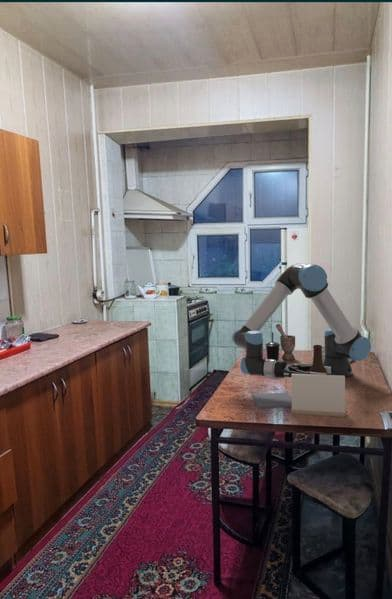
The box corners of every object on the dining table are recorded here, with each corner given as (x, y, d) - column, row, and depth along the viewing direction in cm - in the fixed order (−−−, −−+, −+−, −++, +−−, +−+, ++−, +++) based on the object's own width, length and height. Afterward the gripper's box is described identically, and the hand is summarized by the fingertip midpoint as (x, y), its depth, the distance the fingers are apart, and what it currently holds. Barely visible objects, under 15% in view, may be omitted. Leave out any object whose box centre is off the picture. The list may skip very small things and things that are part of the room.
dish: (350, 354, 271) (350, 346, 270) (355, 364, 249) (355, 355, 249) (311, 354, 275) (311, 346, 275) (313, 363, 254) (313, 354, 253)
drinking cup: (280, 371, 238) (279, 334, 236) (265, 371, 240) (264, 333, 238) (280, 367, 246) (280, 331, 244) (266, 367, 247) (265, 331, 245)
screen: (344, 411, 179) (344, 374, 178) (345, 416, 174) (345, 378, 172) (292, 408, 184) (291, 372, 183) (291, 413, 179) (291, 376, 177)
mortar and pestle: (274, 359, 264) (273, 325, 262) (276, 356, 272) (276, 323, 270) (294, 360, 260) (294, 326, 258) (296, 357, 268) (296, 323, 266)
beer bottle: (306, 398, 196) (306, 343, 193) (324, 398, 195) (324, 343, 193) (310, 404, 188) (310, 347, 185) (329, 404, 188) (329, 347, 185)
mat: (287, 394, 202) (287, 392, 202) (297, 406, 186) (297, 404, 186) (251, 395, 201) (251, 393, 201) (258, 408, 186) (258, 406, 186)
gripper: (283, 370, 209) (333, 375, 198) (267, 384, 189) (322, 390, 179) (282, 354, 208) (333, 358, 198) (267, 366, 188) (322, 371, 178)
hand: (328, 373), depth 188 cm, fingers open, 10 cm apart
